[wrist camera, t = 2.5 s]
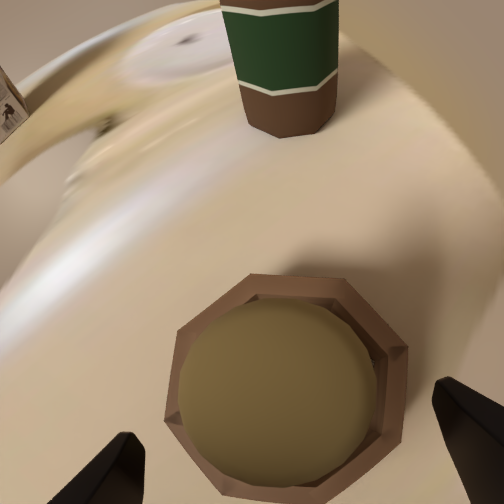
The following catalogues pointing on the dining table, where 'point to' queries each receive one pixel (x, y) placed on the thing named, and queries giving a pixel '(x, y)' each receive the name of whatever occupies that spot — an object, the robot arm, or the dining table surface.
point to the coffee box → (10, 107)
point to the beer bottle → (285, 61)
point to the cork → (277, 392)
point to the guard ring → (380, 350)
